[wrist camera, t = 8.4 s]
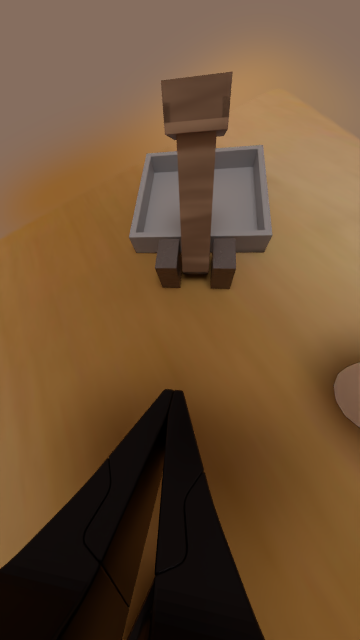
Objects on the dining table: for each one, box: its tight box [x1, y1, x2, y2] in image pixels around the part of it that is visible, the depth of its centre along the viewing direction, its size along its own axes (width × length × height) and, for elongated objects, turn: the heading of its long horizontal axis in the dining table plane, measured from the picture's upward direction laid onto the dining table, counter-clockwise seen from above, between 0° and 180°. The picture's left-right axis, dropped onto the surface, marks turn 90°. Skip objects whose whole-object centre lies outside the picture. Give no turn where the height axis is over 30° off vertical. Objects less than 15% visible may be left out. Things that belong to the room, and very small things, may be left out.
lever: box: [161, 72, 232, 274], centre depth 19 cm, size 5×5×15 cm
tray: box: [129, 145, 272, 253], centre depth 27 cm, size 17×18×3 cm
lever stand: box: [155, 238, 236, 289], centre depth 22 cm, size 4×9×4 cm, turn 85°
